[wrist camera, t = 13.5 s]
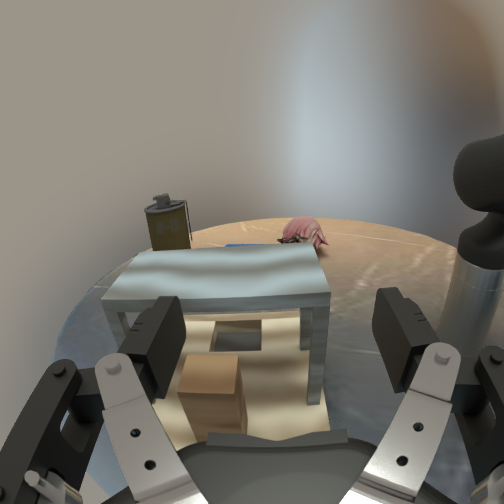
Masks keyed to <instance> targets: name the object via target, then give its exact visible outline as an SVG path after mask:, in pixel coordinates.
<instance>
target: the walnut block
mask: <svg viewBox="0 0 504 504" xmlns="http://www.w3.org/2000/svg"><path fill="white" fill-rule="evenodd" d="M177 394H178V397H179V399H180V402H181V405H182V407H183V410H184V412H185V414H186V417H187V419H188V422H189V424H190V426H191V429H192V431H193V433H194V436H195V438H196V440H197V442H202V441H207V437H208V432H219V433H242V434H246V435H247V427H248V415H247V409H246V403H245V396H244V390H243V383H242V377H241V370H240V363H239V356H238V354H187V357H186V361H185V364H184V368H183V371H182V375H181V378H180V382H179V385H178V389H177Z"/></svg>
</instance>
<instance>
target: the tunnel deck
mask: <svg viewBox="0 0 504 504" xmlns="http://www.w3.org/2000/svg"><path fill="white" fill-rule="evenodd" d="M159 296H177V297H178V298H179V301H180V305H181V309H182V312H225V311H251V310H272V309H289V308H300V311H286V312H268V313H246V314H216V315H183V317H184V321H185V325H186V340H185V343H184V346H183V349H182V351H181V354H180V357H179V360H178V363H177V365H176V368H175V371H174V374H173V377H172V380H171V382H170V385H169V388H168V391H167V394H166V397H165V399H157V398H154V400H153V403H152V406H153V408H154V410H155V412H156V414H157V416H158V418H159V420H160V422H161V423H162V425H163V427H164V429H165V431H166V433H167V435H168V436H169V438H170V440H171V442H172V444H173V445H174V447H175V449H176V450H177V451H178V450H180V449H181V448H184V447H186V446H188V445H191V444H194V443H198V442H197V440H196V438H195V436H194V433H193V431H192V429H191V426H190V424H189V422H188V419H187V417H186V414H185V412H184V410H183V407H182V405H181V402H180V399H179V397H178V394H177V389H178V385H179V382H180V378H181V375H182V371H183V368H184V364H185V361H186V357H187V354H238V356H239V363H240V370H241V377H242V383H243V390H244V396H245V403H246V409H247V415H248V427H247V435H250V436H255V437H259V438H264V439H269V440H274V441H280V440H284V439H288V438H292V437H296V436H300V435H304V434H307V433H311V432H319V431H330V426H329V420H328V414H327V408H326V403H325V397H324V392H323V387H322V383H323V375H324V366H325V357H326V347H327V336H328V325H329V312H330V297H331V291H330V288H329V285H328V283H327V280H326V278H325V275H324V272H323V270H322V267H321V265H320V262H319V259H318V257H317V254H316V252H315V249H314V247H313V244H312V242H302V243H284V244H267V245H250V246H232V247H216V248H199V249H183V250H167V251H151V252H140V253H139V254H138V255H137V256H136V257H135V258H134V260H133V261H132V262H131V263H130V264H129V265H128V267H127V268H126V269H125V270H124V271H123V273H122V274H121V275H120V276H119V277H118V278H117V280H116V281H115V282H114V283H113V284H112V286H111V287H110V288H109V289H108V291H107V292H106V293H105V294H104V296H103V297H102V298H101V299H100V300H101V303H102V306H103V308H104V311H105V314H106V317H107V319H108V322H109V325H110V327H111V330H112V332H113V335H114V337H115V340H116V342H117V345H118V347H119V348H120V346H121V344H122V343H123V341H124V339H125V338H126V336H127V334H128V333H129V331H130V327H129V324H128V321H127V318H126V315H125V312H143V311H144V310H146V309H147V308H152V307H153V305H154V304H155V302H156V300H157V298H158V297H159Z"/></svg>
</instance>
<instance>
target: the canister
mask: <svg viewBox="0 0 504 504" xmlns="http://www.w3.org/2000/svg"><path fill="white" fill-rule="evenodd" d="M155 199H156V200H157V203H155V204H152V205H150V206H148V207H146V208H145V209H144V212H145V213H146V217H147V223H148V228H149V233H150V238H151V243H152V248H153V251H167V250H183V249H191V246H190V240H189V233H188V228H187V220H186V214H185V207H184V205H185V202H186V200H171V201H170V198H169V195H168V194H163V195H158V196H155V197H153V200H155ZM186 205H187V202H186ZM187 212H188V208H187ZM188 220H189V215H188ZM189 227H190V222H189ZM190 234H191V229H190ZM191 240H192V235H191ZM192 242H193V241H192Z"/></svg>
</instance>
